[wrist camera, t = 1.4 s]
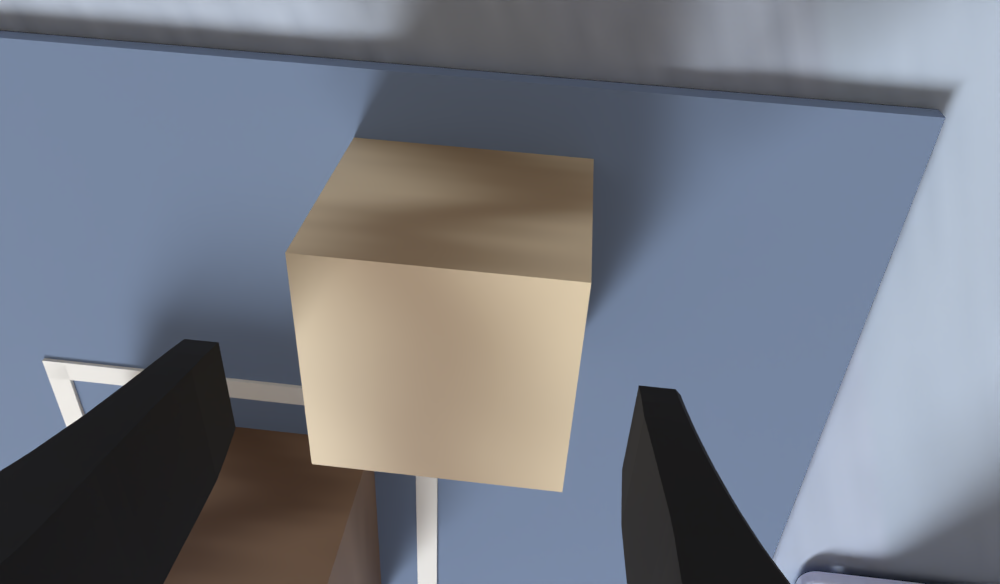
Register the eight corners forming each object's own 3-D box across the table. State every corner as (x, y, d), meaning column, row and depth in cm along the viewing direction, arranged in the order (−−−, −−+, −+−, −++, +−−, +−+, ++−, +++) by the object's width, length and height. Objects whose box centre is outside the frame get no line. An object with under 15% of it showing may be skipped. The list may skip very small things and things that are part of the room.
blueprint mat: (938, 109, 16) (946, 119, 15) (723, 668, 27) (725, 683, 27) (-230, 10, 17) (-251, 18, 17) (39, 584, 29) (30, 596, 28)
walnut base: (372, 442, 22) (320, 604, 18) (382, 594, 26) (341, 755, 22) (124, 414, 22) (19, 567, 18) (171, 568, 27) (94, 722, 22)
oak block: (593, 158, 17) (591, 283, 13) (569, 347, 19) (562, 492, 16) (353, 137, 17) (284, 252, 13) (365, 326, 20) (311, 463, 16)
